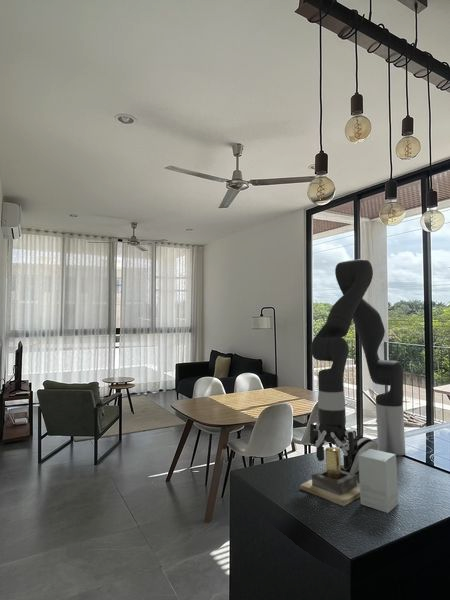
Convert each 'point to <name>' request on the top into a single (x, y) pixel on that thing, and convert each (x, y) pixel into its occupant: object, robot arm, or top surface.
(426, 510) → the top surface
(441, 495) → the top surface
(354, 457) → the white black curved block
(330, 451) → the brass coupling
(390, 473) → the supplement box
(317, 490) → the socket board
